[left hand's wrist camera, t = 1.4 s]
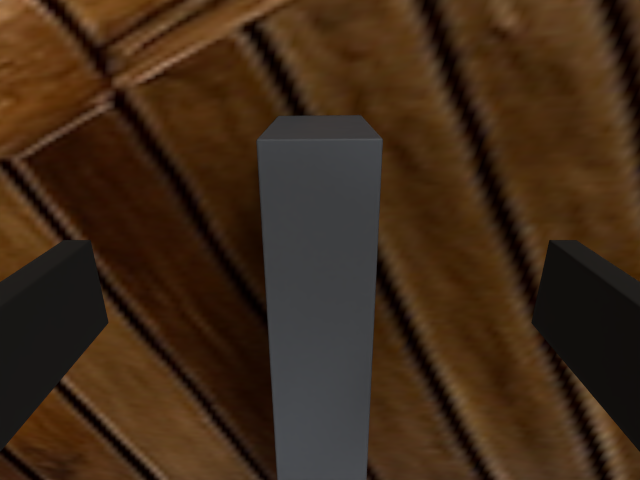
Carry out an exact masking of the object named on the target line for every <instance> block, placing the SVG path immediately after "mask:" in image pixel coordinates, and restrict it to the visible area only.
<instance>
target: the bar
mask: <svg viewBox="0 0 640 480" xmlns="http://www.w3.org/2000/svg"><path fill="white" fill-rule="evenodd" d="M382 145H383V140H382V138H381V137H380V136H379V135H378V134H377V133H376V132H375V130H374V129H373V128H372V127H371V126H370V125H369V124H368V123H367V122H366V121H365V120H364V118H363V117H362V116H360V115H354V116H278V117H277V118H276V119H275V120H274V122H273V123H272V124H271V125H270V126H269V127H268V128H267V129H266V130H265V131H264V132H263V134H262V135H261V136H260V137H259V138H258V139H257V157H258V173H259V190H260V206H261V222H262V238H263V255H264V271H265V287H266V304H267V320H268V336H269V352H270V369H271V385H272V401H273V418H274V434H275V450H276V466H277V480H366V476H367V456H368V435H369V414H370V393H371V373H372V352H373V331H374V310H375V290H376V269H377V248H378V228H379V207H380V186H381V165H382Z"/></svg>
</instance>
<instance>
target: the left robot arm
mask: <svg viewBox="0 0 640 480" xmlns="http://www.w3.org/2000/svg"><path fill="white" fill-rule="evenodd" d="M107 324H108V318H107V314H106V309H105V305H104V300H103V295H102V291H101V286H100V282H99V277H98V272H97V268H96V263H95V259H94V254H93V249H92V245H91V240H63V241H62V242H60V243H59V244H57V245H56V246H54V247H53V248H51V249H50V250H48V251H47V252H45V253H44V254H42V255H41V256H39V257H38V258H36V259H35V260H33V261H32V262H30V263H29V264H27V265H26V266H24V267H23V268H21V269H20V270H18V271H16V272H15V273H13V274H12V275H10V276H9V277H7V278H6V279H4V280H3V281H1V282H0V451H1V450H2V449H3V448H4V447H5V445H6V444H7V443H8V442H9V441H10V439H11V438H12V437H13V436H14V435H15V433H16V432H17V431H18V430H19V429H20V427H21V426H22V425H23V424H24V423H25V422H26V420H27V419H28V418H29V417H30V416H31V414H32V413H33V412H34V411H35V410H36V408H37V407H38V406H39V405H40V404H41V402H42V401H43V400H44V399H45V398H46V397H47V395H48V394H49V393H50V392H51V391H52V389H53V388H54V387H55V386H56V385H57V383H58V382H59V381H60V380H61V379H62V377H63V376H64V375H65V374H66V373H67V372H68V370H69V369H70V368H71V367H72V366H73V364H74V363H75V362H76V361H77V360H78V358H79V357H80V356H81V355H82V354H83V352H84V351H85V350H86V349H87V348H88V347H89V345H90V344H91V343H92V342H93V341H94V339H95V338H96V337H97V336H98V335H99V333H100V332H101V331H102V330H103V329H104V328H105V326H106V325H107ZM532 324H533V325H534V326H535V328H536V329H537V330H538V331H539V332H540V333H541V335H542V336H543V337H544V338H545V339H546V341H547V342H548V343H549V344H550V345H551V347H552V348H553V349H554V350H555V351H556V352H557V354H558V355H559V356H560V357H561V358H562V360H563V361H564V362H565V363H566V364H567V366H568V367H569V368H570V369H571V370H572V372H573V373H574V374H575V375H576V376H577V377H578V379H579V380H580V381H581V382H582V383H583V385H584V386H585V387H586V388H587V389H588V391H589V392H590V393H591V394H592V395H593V397H594V398H595V399H596V400H597V401H598V402H599V404H600V405H601V406H602V407H603V408H604V410H605V411H606V412H607V413H608V414H609V416H610V417H611V418H612V419H613V420H614V422H615V423H616V424H617V425H618V426H619V427H620V429H621V430H622V431H623V432H624V433H625V435H626V436H627V437H628V438H629V439H630V441H631V442H632V443H633V444H634V445H635V447H636V448H637V449H638V450H639V451H640V282H639V281H637V280H636V279H634V278H633V277H631V276H630V275H628V274H627V273H625V272H624V271H622V270H620V269H619V268H617V267H616V266H614V265H613V264H611V263H610V262H608V261H607V260H605V259H604V258H602V257H601V256H599V255H598V254H596V253H595V252H593V251H592V250H590V249H589V248H587V247H586V246H584V245H583V244H581V243H580V242H578V241H577V240H549V245H548V249H547V254H546V259H545V263H544V268H543V272H542V277H541V282H540V286H539V291H538V295H537V300H536V304H535V309H534V314H533V318H532Z"/></svg>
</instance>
